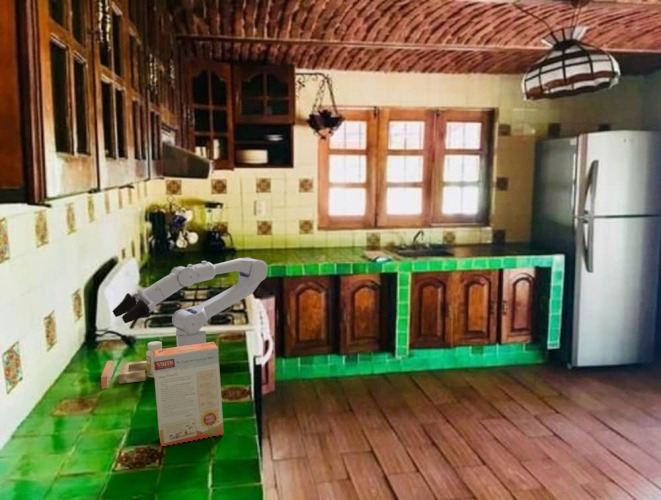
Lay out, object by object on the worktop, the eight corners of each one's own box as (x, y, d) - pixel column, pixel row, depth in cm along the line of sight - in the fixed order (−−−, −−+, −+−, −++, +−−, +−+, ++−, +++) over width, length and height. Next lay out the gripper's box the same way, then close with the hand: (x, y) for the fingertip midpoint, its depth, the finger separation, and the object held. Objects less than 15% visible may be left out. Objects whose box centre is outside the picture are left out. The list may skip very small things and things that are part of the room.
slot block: (147, 369, 175) (146, 360, 174) (145, 380, 165) (144, 372, 165) (123, 371, 173) (122, 363, 173) (119, 383, 163) (118, 374, 163)
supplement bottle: (169, 371, 173) (166, 340, 172) (162, 378, 168) (159, 346, 166) (151, 371, 173) (149, 340, 172) (144, 377, 168) (142, 345, 167)
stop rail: (113, 371, 174) (112, 360, 174) (107, 388, 161) (106, 376, 160) (108, 371, 174) (107, 360, 173) (101, 388, 160) (100, 377, 160)
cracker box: (219, 425, 136) (214, 340, 133) (224, 436, 130) (219, 347, 127) (158, 436, 131) (151, 348, 128) (160, 448, 125) (153, 356, 122)
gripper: (143, 276, 178) (103, 300, 172) (162, 286, 168) (121, 312, 161) (153, 295, 182) (114, 319, 175) (172, 305, 171) (132, 331, 164)
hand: (118, 317), depth 168 cm, fingers open, 7 cm apart
